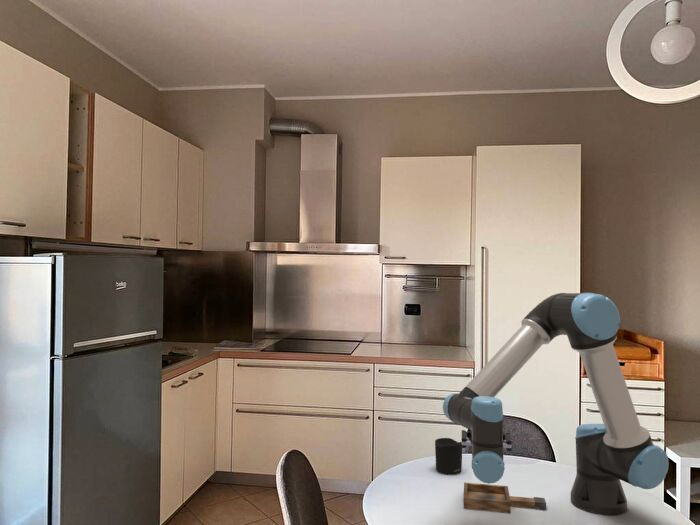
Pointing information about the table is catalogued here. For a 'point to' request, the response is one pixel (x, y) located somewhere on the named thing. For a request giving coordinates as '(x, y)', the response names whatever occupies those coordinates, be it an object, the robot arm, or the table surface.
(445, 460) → the pen holder
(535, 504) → the wooden tray with handle
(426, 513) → the table surface
